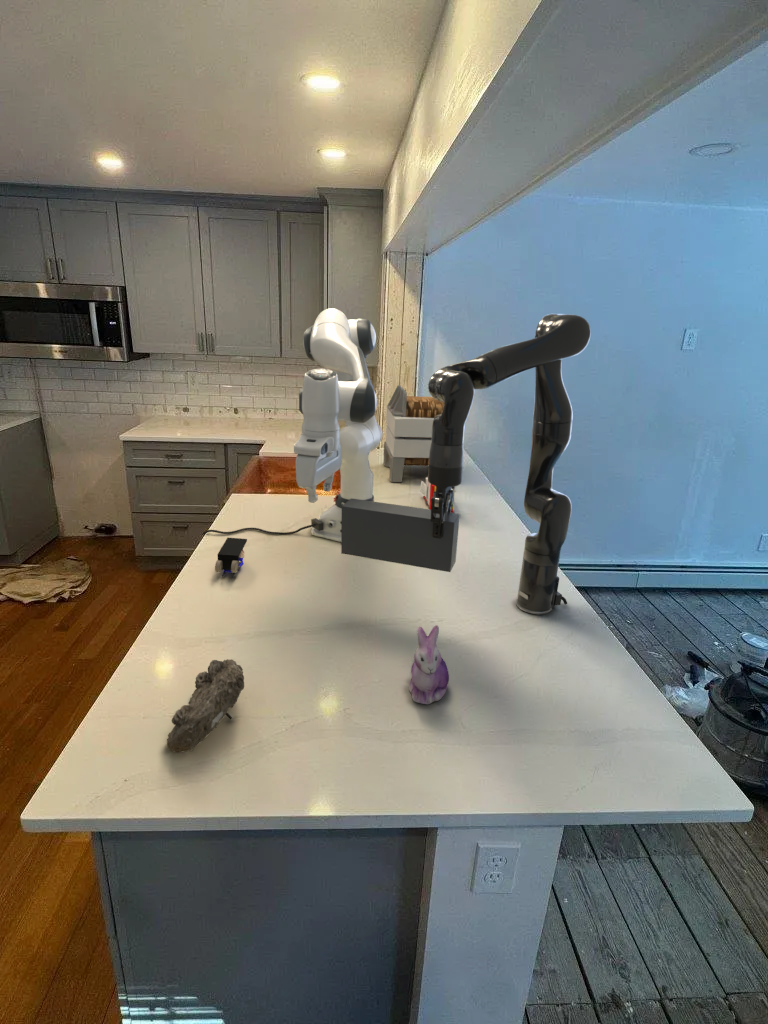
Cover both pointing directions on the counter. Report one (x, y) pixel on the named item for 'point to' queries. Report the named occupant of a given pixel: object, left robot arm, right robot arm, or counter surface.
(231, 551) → the black toy vehicle
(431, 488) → the toy
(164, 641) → the counter surface
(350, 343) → the left robot arm
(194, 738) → the fossil
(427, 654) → the figurine
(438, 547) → the box
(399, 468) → the transformer
